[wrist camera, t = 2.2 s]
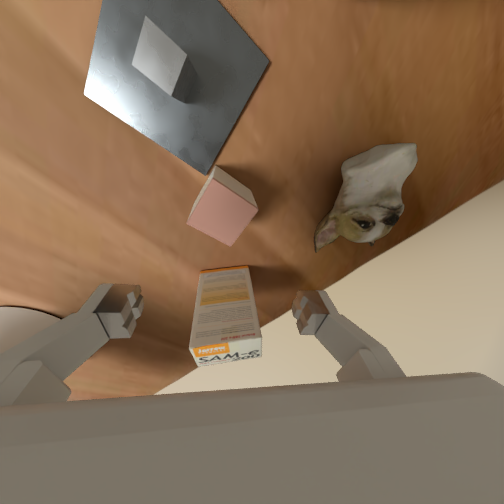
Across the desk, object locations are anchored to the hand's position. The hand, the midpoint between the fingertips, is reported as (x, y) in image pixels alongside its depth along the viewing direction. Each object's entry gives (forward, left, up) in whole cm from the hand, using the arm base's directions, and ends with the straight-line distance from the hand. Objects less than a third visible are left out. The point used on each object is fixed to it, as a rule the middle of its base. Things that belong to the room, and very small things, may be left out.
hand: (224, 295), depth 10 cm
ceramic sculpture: (+9, -15, -17) cm, 25 cm away
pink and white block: (0, 0, -17) cm, 17 cm away
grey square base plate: (+7, +9, -17) cm, 20 cm away
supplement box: (-12, -8, -17) cm, 22 cm away
